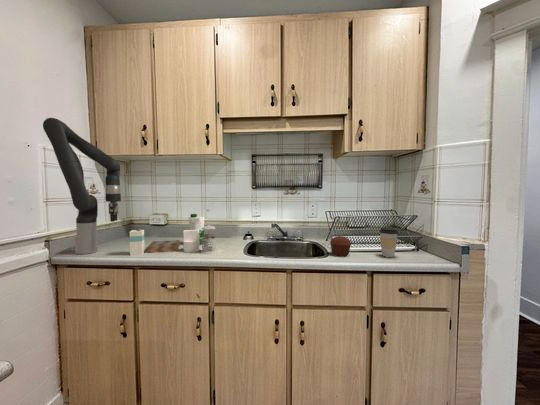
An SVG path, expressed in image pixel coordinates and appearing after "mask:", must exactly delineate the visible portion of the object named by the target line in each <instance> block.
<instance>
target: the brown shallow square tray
mask: <svg viewBox="0 0 540 405" xmlns="http://www.w3.org/2000/svg"><path fill="white" fill-rule="evenodd" d="M179 247H180V240H179V239H173V240H172V239H171V240H156V241H155V240H152V241H151V242H150V243H149V244H148V245H147V247H146V252H147V254H153V253H154V254H155V253H156V254H157V253H167V252H168V253H172V252H178V251H179Z"/></svg>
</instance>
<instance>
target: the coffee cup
mask: <svg viewBox="0 0 540 405" xmlns="http://www.w3.org/2000/svg"><path fill="white" fill-rule="evenodd" d="M378 233H380V234H379V236H380V237H379V238H380V239H379V240H380V248H381V256H382V255H383V256H382V257H384V256H385V257H384V258H389V257H391V258H395V253H396V248H397V241H398V234H399V231H398V229H397V228H392V227H381V228H380V229H379V231H378Z"/></svg>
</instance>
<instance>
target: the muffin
mask: <svg viewBox="0 0 540 405" xmlns="http://www.w3.org/2000/svg"><path fill="white" fill-rule="evenodd" d="M329 243H330V250H331V254H332V255H333V254H334V255H333V256H335V255H337V256H336V257H342V256H344V257H348V256H349V255H350V250H351V249H350V248H351V245H352V244H353V243H352V242H351V240H350V239H349V238H348V237H345V236H341V235H339V236H334V237H332V239H331V240H330V242H329ZM348 254H349V255H348ZM347 255H348V256H347Z"/></svg>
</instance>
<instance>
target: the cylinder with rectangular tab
mask: <svg viewBox="0 0 540 405" xmlns="http://www.w3.org/2000/svg"><path fill="white" fill-rule="evenodd" d="M182 232H183V252H184V253H185V252H186V253H195V252H199V251H200V245H199V239H198V237H199V235H198V234H199V230H189V229H184V230H183V231H182Z"/></svg>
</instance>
